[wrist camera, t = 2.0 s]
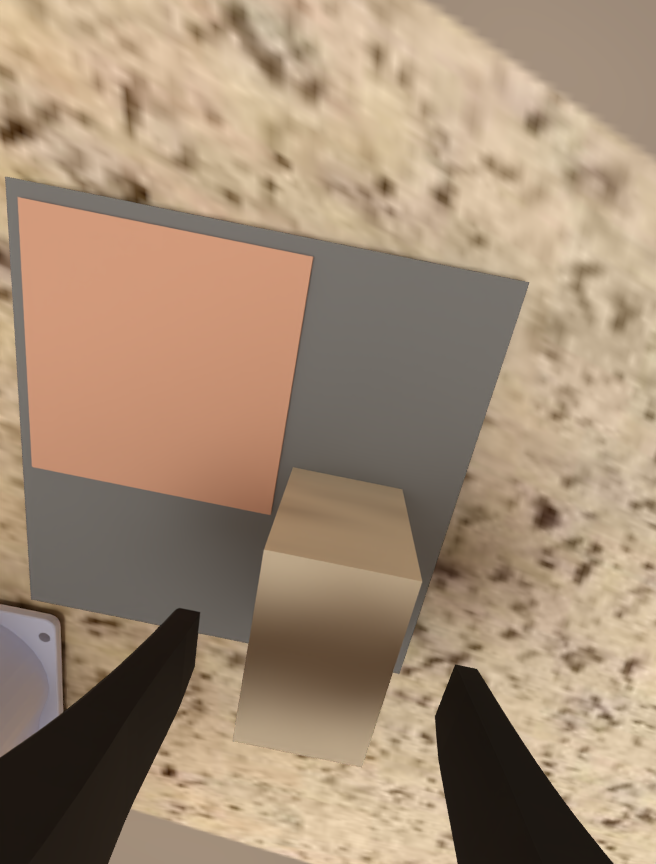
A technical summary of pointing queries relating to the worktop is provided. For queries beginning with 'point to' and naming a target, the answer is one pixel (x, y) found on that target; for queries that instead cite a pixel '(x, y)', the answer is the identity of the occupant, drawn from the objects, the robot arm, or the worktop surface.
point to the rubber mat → (227, 395)
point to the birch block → (328, 618)
